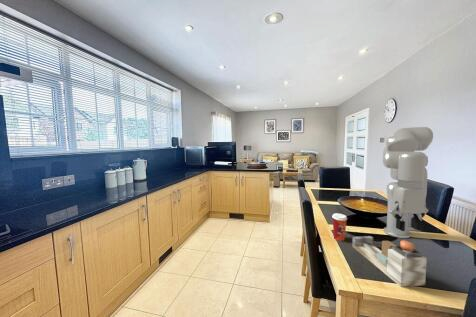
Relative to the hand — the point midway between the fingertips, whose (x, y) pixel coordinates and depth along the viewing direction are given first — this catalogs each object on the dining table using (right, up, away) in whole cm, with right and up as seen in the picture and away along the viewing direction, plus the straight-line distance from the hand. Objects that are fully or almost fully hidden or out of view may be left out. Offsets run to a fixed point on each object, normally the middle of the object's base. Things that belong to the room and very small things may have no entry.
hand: (407, 228), depth 74 cm
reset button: (0, -8, +1) cm, 8 cm away
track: (0, -21, +13) cm, 24 cm away
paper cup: (-8, -19, +35) cm, 41 cm away
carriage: (0, -19, +10) cm, 21 cm away
